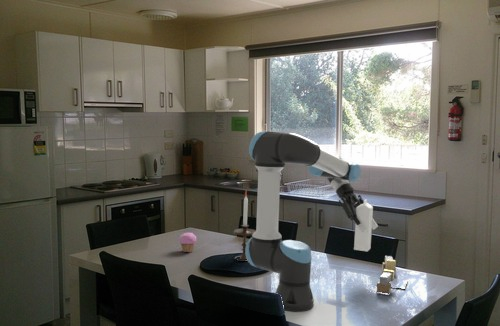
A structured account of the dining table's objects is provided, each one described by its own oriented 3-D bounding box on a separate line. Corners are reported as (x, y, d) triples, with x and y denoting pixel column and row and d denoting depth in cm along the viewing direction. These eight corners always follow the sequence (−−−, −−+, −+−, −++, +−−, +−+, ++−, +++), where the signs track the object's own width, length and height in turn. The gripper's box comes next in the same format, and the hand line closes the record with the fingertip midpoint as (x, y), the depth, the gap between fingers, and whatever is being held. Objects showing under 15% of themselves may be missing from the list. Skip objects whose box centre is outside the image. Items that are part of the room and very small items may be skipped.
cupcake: (197, 250, 256) (198, 231, 255) (194, 254, 247) (194, 235, 247) (181, 249, 257) (181, 230, 256) (176, 253, 248) (177, 234, 247)
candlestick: (252, 263, 235) (255, 191, 232) (230, 261, 238) (232, 190, 234) (256, 257, 246) (259, 188, 243) (235, 255, 248) (237, 187, 245)
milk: (353, 249, 214) (356, 199, 212) (357, 246, 220) (359, 198, 218) (367, 251, 212) (370, 201, 210) (370, 248, 217) (373, 199, 215)
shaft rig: (403, 298, 195) (404, 279, 195) (372, 293, 200) (373, 274, 199) (409, 274, 227) (410, 257, 226) (382, 270, 231) (383, 254, 231)
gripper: (351, 190, 232) (378, 230, 221) (322, 194, 218) (350, 237, 208) (361, 180, 227) (389, 221, 217) (332, 183, 214) (361, 227, 203)
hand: (370, 229), depth 212 cm, fingers closed on milk, 8 cm apart
